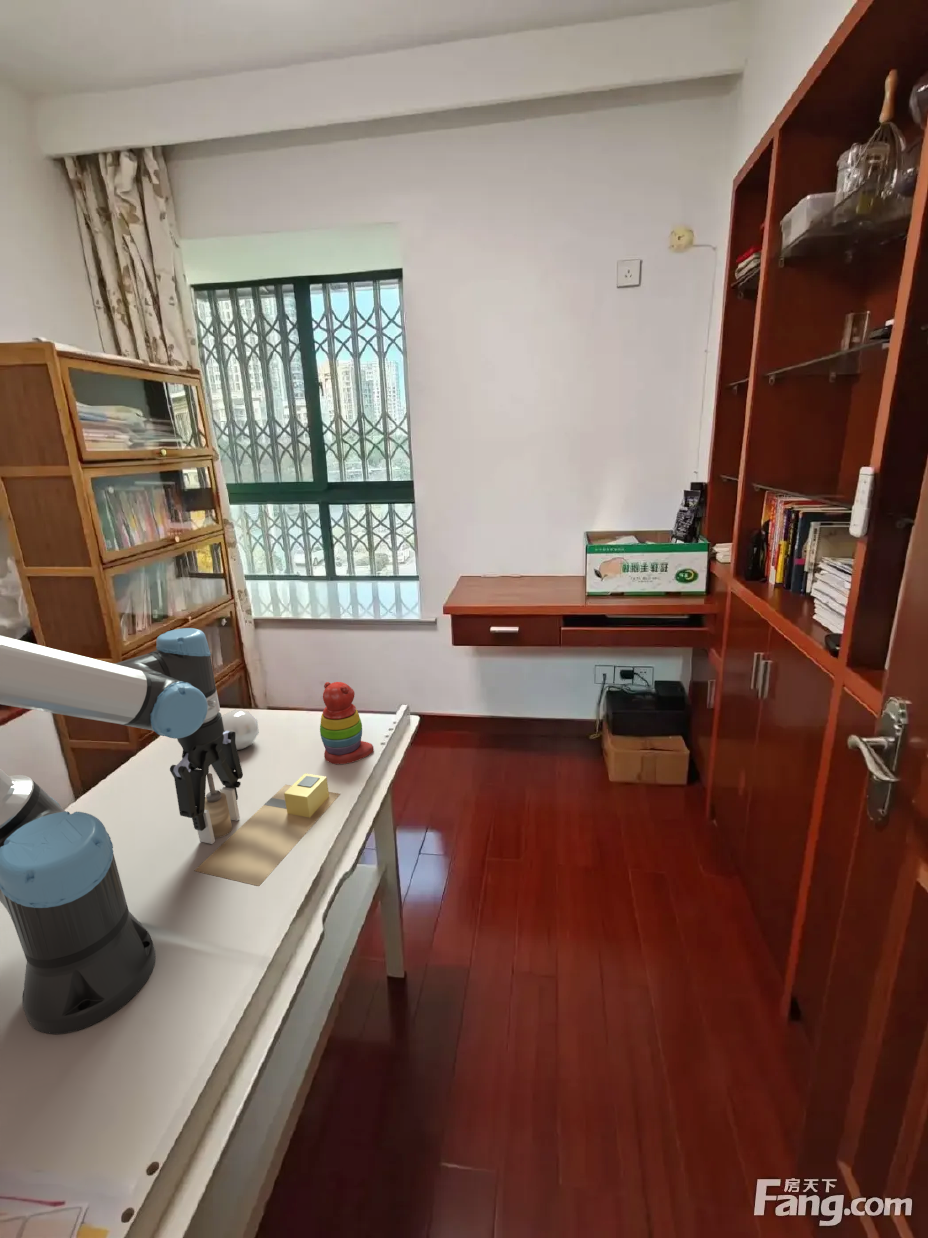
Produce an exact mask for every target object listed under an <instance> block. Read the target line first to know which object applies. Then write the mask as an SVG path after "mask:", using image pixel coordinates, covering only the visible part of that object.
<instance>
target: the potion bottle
mask: <svg viewBox="0 0 928 1238" xmlns="http://www.w3.org/2000/svg"><path fill="white" fill-rule="evenodd" d="M222 721H223V726H224V730H225V731H233V732H235V734H236V737H235V744H236V748H237V751H241V750H243V749H245V748H247V747H250V746H251V745H253V744H254V741H255V740H256V739H257V736H258V735H259V733H260V732H259V721H258V719H257V718H256V717H255V716H254V715H253V714H252V713H251V712H250V711H248V710H242V709H235V708H234V709H233V710H231V711H229V712H227V713H224V714H222Z"/></svg>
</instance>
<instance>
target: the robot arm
mask: <svg viewBox="0 0 928 1238" xmlns="http://www.w3.org/2000/svg"><path fill="white" fill-rule="evenodd" d="M155 641H156V646H155V648H156V650H153V651H150V652H149V653H145V654H142V655H139V656H136V657H135V656H134V657H132V658H128V659H125V660H123V661H118V662H115V663H112V662H108V661H103V660H99V659H95V658H92V657H88V656H84V655H80V654H76V653H72V652H68V651H65V650H60V649H56V648H51V647H49V646H48V647H47V646H44V645H40V644H37V643H32V642H29V641H24V640H22V639H21V640H20V639H16V638H13V637H8V636H5V635H1V634H0V705H2V706H9V707H15V708H19V709H27V710H33V711H39V712H45V713H50V714H57V715H61V716H62V715H63V716H69V717H74V718H82V719H85V720H86V719H88V720H94V721H100V722H105V723H112V724H118V725H122V726H126V727H131V728H138V729H143V730H149V731H153V732H154V733H156V734H157V735H158V736H160V737H161V736H162V737H167V738H169V739H174V740H175V739H176V740H177V742H178V743H179V745H180V747H182V755H181V760H180V761H179V762H178V763H177V764H172V765H170V768H169V771H170V774H171V775H172V777H173V779H174V780H173V781H174V785H175V786H174V787H175V791H176V798H177V805H178V810H179V816H180V817H186V818H190V819H191V820H192V824H193V829H194V830H196V831H197V835H198V839H199V842H201V843H204V844H211V845H213V844H214V843H215V842H216V840H215V838H214V834H213V829H212V824H211V819H210V814H209V810H205V797H206V788H207V787H206V783H207V775H208V774H209V773H210V766H211V767H212V768H213V770H214V772H215V774H216V775H217V777H218V779H219V781H220V782H221V784H222V786H221V788H219V791H220V792H221V793H224V794H225V795H226V798H227V803H228V808H229V814H230V819H231V821H232V820H233V821H236V822H237V821H239V820H240V819H241V816H240V812H239V806H238V799H239V796H238V790H237V788H240V787H241V781H238V780H241V779H242V778H243V775H244V773H243V769H242V764H241V760H240V757H239V752H238V750H237V748H236V744H235V737H236V734H235V732H233V731H225V730H224V726H223V721H222V716H223V714H222V713H221V712H220V710H221V708H220V702H219V696H218V692H217V686H216V681H215V675H214V670H213V663H212V658H211V655H212V653H211V652H210V647H209V643H208V640H207V636H206V634H205V633H204V631H203V630H201V629H197V628H193V627H183V628H177V629H176V628H175V629H172V630H168V631H166V632H164V633H161V634H159V636H157V638H156V640H155ZM113 849H114V844H113V842H112V839H111V836H110V834H109V833H108V832H107V830H106V827H105V825H104V823H103V822H102V820H100V819H99V818H98V817H96V816H95V815H93V814H91V813H87V812H84V811H83V812H82V811H74V812H73V813H70V812H69V811H66V810H65V809H64V808H63V807H62V806H61V805H60V803H58V802H57V800H56V799H54V798H53V797H51V796H50V795H49V794H48V793H47V791H45V790H44V789H43V788H41V786H39V784H37V783H36V782H35V781H34V780H33V779H32V778H31V777H30V776H27V775H25V774H14V775H9V774H7V773H6V772H5V770H3V769H2V768H1V767H0V903H1V904H2V905H3V907H4V908H5V910H7V913H8V915H9V917H10V919H11V920H12V923H13V925H14V928H15V932H16V935H17V937H18V940H19V942H20V945H21V946H20V947H21V949H22V952H23V953H24V958H25V960H26V964H25V972H24V973H25V974H24V983H23V985H24V986H23V991H22V997H21V1001H22V1007H23V1011H24V1014H25V1016H26V1019H27V1020H28V1021H27V1022H28V1023H29V1025H30V1026H31V1027H32V1028H33V1029H34V1030H35V1031H36V1030H37V1031H39V1032H41V1033H45V1034H50V1035H51V1034H52V1035H54V1034H55V1035H56V1034H58V1035H60V1034H66V1033H67V1034H68V1033H73V1032H76V1031H79V1030H83V1029H85V1028H88V1027H90V1026H92V1025H95V1024H97V1023H99V1022H101V1021H103V1020H104V1019H106V1018H108V1017H110V1016H111V1015H112V1014H114V1013H116V1012H117V1011H118V1010H120V1009H122V1008H123V1007H124V1006H125V1005H126V1004H127V1003H128V1002H129V1001H131V1000H132V999H133V997H135V996H136V995H137V994H138V993H139V991H140V990H141V989H142V988H143V987H144V985H145V984H146V982H147V981H148V980H149V978H150V976H151V974H152V973H153V969H154V967H155V963H156V950H155V946H154V943H153V939H152V936H151V935H150V933H149V932H148V930H147V929H146V928H145V927H144V926H143V924H141V922H140V921H139V920H138V919H137V918H136V917H135V916H134V915H133V913H131V912H130V910H129V907H128V903H127V900H126V896H125V891H124V888H123V885H122V880H121V876H120V873H119V870H118V869H119V868H118V865H117V862H116V859H115V854H114V850H113Z"/></svg>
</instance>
